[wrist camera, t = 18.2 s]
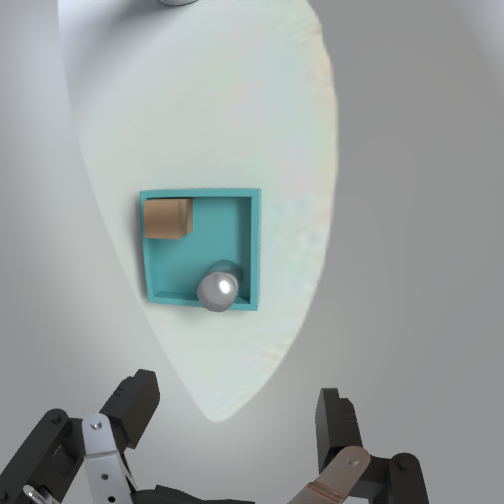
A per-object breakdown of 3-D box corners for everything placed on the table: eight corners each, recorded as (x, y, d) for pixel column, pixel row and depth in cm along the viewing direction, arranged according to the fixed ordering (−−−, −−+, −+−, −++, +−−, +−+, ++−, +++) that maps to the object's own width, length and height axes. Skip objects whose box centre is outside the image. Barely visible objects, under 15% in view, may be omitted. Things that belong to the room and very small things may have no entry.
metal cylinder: (208, 259, 35) (195, 275, 29) (241, 259, 34) (234, 276, 29) (211, 290, 36) (198, 311, 30) (242, 290, 35) (235, 312, 30)
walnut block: (162, 197, 33) (143, 201, 29) (192, 197, 33) (177, 200, 28) (162, 229, 34) (144, 237, 30) (192, 230, 34) (178, 239, 29)
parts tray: (149, 190, 34) (140, 191, 31) (261, 188, 33) (259, 189, 30) (156, 294, 37) (148, 301, 35) (259, 301, 36) (257, 310, 33)
